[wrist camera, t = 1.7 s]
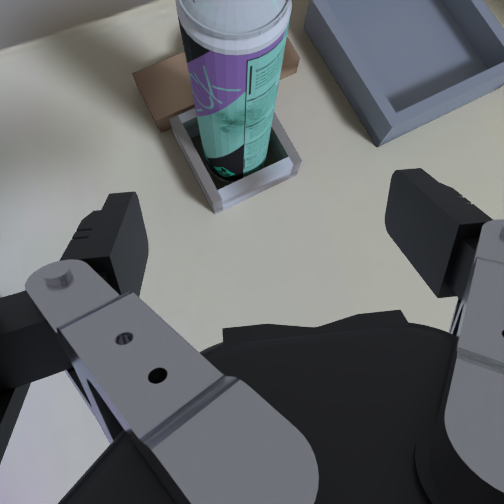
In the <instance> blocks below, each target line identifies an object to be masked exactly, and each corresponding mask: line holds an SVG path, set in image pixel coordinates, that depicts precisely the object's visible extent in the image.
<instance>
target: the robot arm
mask: <svg viewBox="0 0 504 504" xmlns="http://www.w3.org/2000/svg"><path fill="white" fill-rule="evenodd" d="M385 225H386V230H387V232H388V234H389V235H390V237H391V238H392V239H393V240H394V242H395V243H396V244H397V246H398V247H399V248H400V250H401V251H402V252H403V254H404V255H405V256H406V257H407V259H408V260H409V261H410V263H411V264H412V265H413V267H414V268H415V269H416V270H417V272H418V273H419V274H420V276H421V277H422V278H423V280H424V281H425V282H426V284H427V285H428V286H429V287H430V289H431V290H432V291H433V293H434V294H435V295H436V297H437V298H443V297H453V296H457V297H458V301H457V304H456V307H455V310H454V314H453V318H452V322H451V325H450V329H449V333H448V332H446V331H443V330H440V329H437V328H433V327H429V326H426V325H420V324H415V323H408V321H407V320H406V318H405V316H404V315H403V313H402V312H401V310H393V311H384V312H374V313H365V314H357V315H354V316H351V317H348V318H345V319H341V320H338V321H335V322H332V323H329V324H326V325H323V326H320V327H299V326H287V325H275V324H261V325H251V326H242V327H232V328H223V342H222V343H219V344H216V345H214V346H211V347H209V348H207V349H205V350H203V351H201V352H200V353H199V352H198V351H197V350H196V349H195V348H194V347H192V346H191V345H190V344H189V343H188V342H187V341H186V340H185V339H184V338H183V337H182V336H180V335H179V334H178V333H177V332H176V331H175V330H174V329H173V328H172V327H171V326H170V325H168V324H167V323H166V322H165V321H164V320H163V319H162V318H161V317H160V316H159V315H158V314H156V313H155V312H154V311H153V310H152V309H151V308H150V307H149V306H148V305H147V304H146V303H144V302H143V301H142V300H141V299H140V298H139V295H140V290H141V286H142V281H143V277H144V272H145V268H146V263H147V258H148V239H147V234H146V229H145V225H144V221H143V217H142V212H141V208H140V204H139V200H138V196H137V194H136V192H124V193H112V194H109V195H108V197H107V200H106V202H105V204H104V206H103V208H102V210H99V211H93V212H92V213H90V214H89V215H88V216H86V217H85V218H84V219H83V220H82V221H81V223H80V225H79V226H78V228H77V232H75V234H74V235H73V237H72V239H73V240H71V241H70V243H69V245H68V246H67V248H66V250H65V252H64V254H63V256H62V257H61V259H60V261H57V262H54V263H51V264H48V265H46V266H44V267H42V268H40V269H38V270H37V271H36V272H34V273H33V274H32V275H31V276H30V277H29V278H28V279H27V281H26V284H25V289H26V290H25V291H23V292H20V293H16V294H13V295H9V296H6V297H2V298H0V463H1V461H2V458H3V455H4V453H5V450H6V447H7V445H8V442H9V439H10V437H11V434H12V432H13V429H14V426H15V424H16V421H17V418H18V416H19V413H20V410H21V408H22V405H23V402H24V400H25V397H26V394H27V392H28V389H29V387H30V383H31V382H34V381H36V380H39V379H42V378H45V377H48V376H50V375H53V374H56V373H59V372H61V371H64V370H65V372H66V374H67V375H68V377H69V378H70V380H71V381H72V383H73V384H74V386H75V387H76V389H77V390H78V392H79V393H80V395H81V396H82V398H83V400H84V401H85V403H86V404H87V406H88V407H89V409H90V410H91V412H92V413H93V415H94V416H95V418H96V419H97V421H98V423H99V424H100V426H101V428H102V430H103V432H104V434H105V435H106V437H107V439H108V441H109V443H110V446H109V447H108V448H107V449H106V450H105V451H104V452H103V453H102V455H101V456H100V457H99V458H98V459H97V460H96V461H95V462H94V463H93V465H92V466H91V467H90V468H89V469H88V470H87V471H86V472H85V474H84V475H83V476H82V477H81V478H80V479H79V480H78V481H77V483H76V484H75V485H74V486H73V487H72V488H71V489H70V490H69V492H68V493H67V494H66V495H65V496H64V497H63V498H62V499H61V501H60V502H59V503H58V504H504V220H493V219H491V218H490V217H489V216H488V215H486V214H485V213H484V212H483V211H481V210H480V209H479V208H477V207H476V206H475V205H474V204H471V202H470V201H468V200H467V199H466V198H463V196H462V195H461V194H459V193H458V192H457V191H456V190H454V189H453V188H451V187H449V186H446V185H444V184H441V183H439V182H438V181H436V180H435V179H434V178H433V177H431V176H430V175H429V174H428V173H426V172H425V171H424V170H423V169H421V168H416V169H405V170H396V171H395V172H394V173H393V175H392V178H391V183H390V189H389V195H388V201H387V207H386V213H385Z"/></svg>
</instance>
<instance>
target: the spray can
mask: <svg viewBox="0 0 504 504" xmlns="http://www.w3.org/2000/svg"><path fill="white" fill-rule="evenodd" d="M176 7H177V14H178V19H179V24H180V29H181V35H182V40H183V45H184V51H185V56H186V61H187V67H188V72H189V77H190V82H191V88H192V93H193V98H194V104H195V109H196V114H197V120H198V125H199V130H200V136H201V141H202V146H203V151H204V157H205V161H206V164H207V167H208V169H209V170H210V172H211V173H212V174H213V175H214V176H215V177H216V178H217V179H219V180H220V181H223V182H225V183H229V184H232V183H234V182H236V181H238V180H240V179H242V178H244V177H246V176H249V175H251V174H253V173H255V172H257V171H259V170H261V169H263V167H264V164H265V160H266V155H267V149H268V143H269V138H270V132H271V126H272V120H273V114H274V108H275V103H276V97H277V91H278V85H279V79H280V73H281V68H282V62H283V56H284V50H285V44H286V38H287V33H288V27H289V21H290V15H291V9H292V0H176Z"/></svg>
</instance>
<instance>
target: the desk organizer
mask: <svg viewBox="0 0 504 504" xmlns="http://www.w3.org/2000/svg"><path fill="white" fill-rule="evenodd" d="M299 59H300V57H299V56H298V54H297V52H296V51H295V49H294V47H293V46H292V44H291V42H290V41H289V39H288V37H287V38H286V44H285V50H284V56H283V62H282V68H281V73H280V79H283V78H285V77H287V76H289V75H292V74H294V73H296V72H297V68H298V63H299ZM132 75H133V77H134V79H135V82H136V84H137V87H138V89H139V91H140V93H141V95H142V97H143V99H144V101H145V103H146V104H147V106H148V108H149V110H150V112H151V114H152V116H153V118H154V120H155V122H156V124H157V126H158V128H159V130H160V132H163V131H165V130H167V129H170V128H172V129H173V132H174V136H175V138H176V140H177V142H178V144H179V146H180V148H181V150H182V152H183V153H184V155H185V157H186V159H187V161H188V163H189V165H190V167H191V169H192V171H193V173H194V175H195V177H196V179H197V180H198V182H199V184H200V186H201V188H202V190H203V192H204V194H205V196H206V198H207V200H208V202H209V204H210V206H211V208H212V209H213V211H214V213H215V214H216V213H218V212H220V211H222V210H225V209H227V208H229V207H231V206H233V205H235V204H237V203H239V202H241V201H243V200H245V199H247V198H249V197H252V196H254V195H256V194H258V193H260V192H262V191H264V190H266V189H268V188H270V187H272V186H274V185H277V184H279V183H281V182H283V181H285V180H287V179H289V178H291V177H293V176H295V175H297V172H298V169H299V167H300V164H301V162H302V160H301V158H300V156H299V155H298V153H297V151H296V149H295V148H294V146H293V144H292V142H291V141H290V139H289V137H288V135H287V134H286V132H285V130H284V128H283V127H282V125H281V123H280V121H279V120H278V118H277V116H276V114H275V113H274V114H273V120H272V126H271V132H270V138H269V145H270V147H271V148H272V150H273V152H274V154H275V155H276V157H277V159H278V162H276V163H274V164H272V165H270V166H268V167H265V168H263V169H261V170H259V171H257V172H255V173H253V174H251V175H249V176H246V177H244V178H242V179H240V180H238V181H236V182H234V183H232V184H229V185H227V186H225V187H223V188H221V189H219V190H217V189H216V187H215V185H214V183H213V181H212V179H211V177H210V175H209V173H208V171H207V170H206V168H205V166H204V164H203V162H202V160H201V158H200V156H199V154H198V152H197V150H196V149H195V147H194V145H193V143H192V141H191V139H192V138H194V137H196V136H198V135H200V130H199V125H198V120H197V114H196V109H195V104H194V98H193V93H192V88H191V82H190V77H189V72H188V67H187V61H186V56H185V52H182V53H180V54H178V55H175V56H173V57H170V58H168V59H166V60H163V61H161V62H158V63H156V64H154V65H151V66H149V67H146V68H144V69H142V70H139V71H137V72H135V73H132ZM280 79H279V80H280Z"/></svg>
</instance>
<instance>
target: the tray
mask: <svg viewBox="0 0 504 504" xmlns="http://www.w3.org/2000/svg"><path fill="white" fill-rule="evenodd" d="M304 29H305V30H306V32H307V34H308V35H309V37H310V39H311V40H312V42H313V43H314V45H315V47H316V48H317V50H318V52H319V53H320V55H321V56H322V58H323V60H324V61H325V63H326V65H327V66H328V68H329V70H330V71H331V73H332V74H333V76H334V78H335V79H336V81H337V83H338V84H339V86H340V87H341V89H342V91H343V92H344V94H345V96H346V97H347V99H348V101H349V102H350V104H351V105H352V107H353V109H354V110H355V112H356V114H357V115H358V117H359V118H360V120H361V122H362V123H363V125H364V127H365V128H366V130H367V132H368V133H369V135H370V136H371V138H372V140H373V141H374V143H375V145H376V146H377V147H379V146H381V145H383V144H385V143H387V142H389V141H391V140H393V139H395V138H397V137H399V136H401V135H403V134H406V133H408V132H410V131H412V130H414V129H416V128H418V127H420V126H422V125H424V124H426V123H428V122H430V121H432V120H434V119H436V118H438V117H441V116H443V115H445V114H447V113H449V112H451V111H453V110H455V109H457V108H459V107H461V106H463V105H465V104H467V103H469V102H471V101H474V100H476V99H478V98H480V97H482V96H484V95H486V94H488V93H490V92H492V91H494V90H496V89H498V88H500V87H502V86H503V85H504V29H503V28H502V26H501V25H500V23H499V22H498V21H497V19H496V18H495V16H494V15H493V14H492V12H491V11H490V9H489V8H488V7H487V5H486V4H485V2H484V1H483V0H310V1H309V6H308V10H307V15H306V19H305V24H304Z"/></svg>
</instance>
